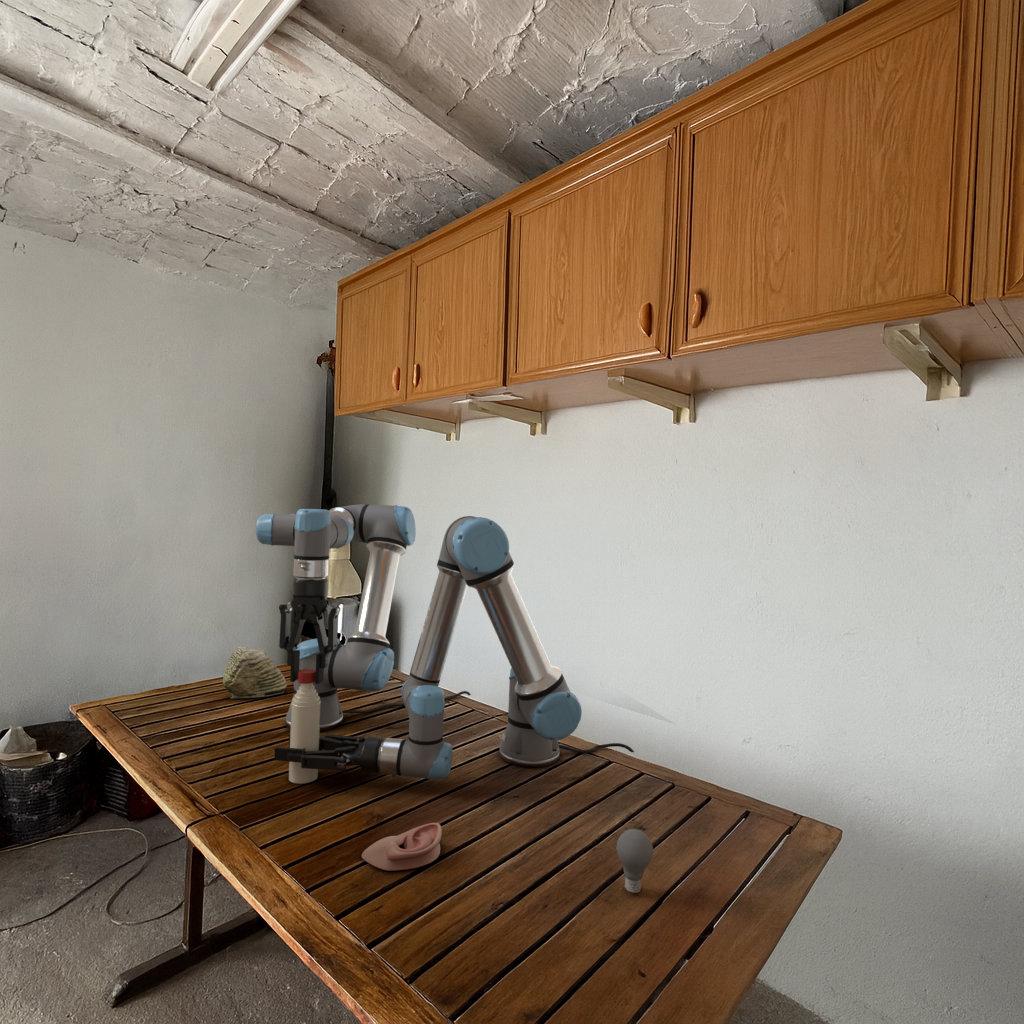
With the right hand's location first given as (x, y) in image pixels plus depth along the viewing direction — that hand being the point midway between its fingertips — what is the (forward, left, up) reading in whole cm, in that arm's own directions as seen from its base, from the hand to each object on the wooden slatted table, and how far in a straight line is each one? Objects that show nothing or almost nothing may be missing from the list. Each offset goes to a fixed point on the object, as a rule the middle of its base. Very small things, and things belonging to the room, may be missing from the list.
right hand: (282, 747), depth 143 cm
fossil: (+9, -61, -6) cm, 62 cm away
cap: (-5, +2, +17) cm, 18 cm away
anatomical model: (-21, +38, -6) cm, 44 cm away
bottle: (-5, +2, -6) cm, 8 cm away
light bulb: (-56, +59, -6) cm, 82 cm away
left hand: (-5, +2, +15) cm, 16 cm away
